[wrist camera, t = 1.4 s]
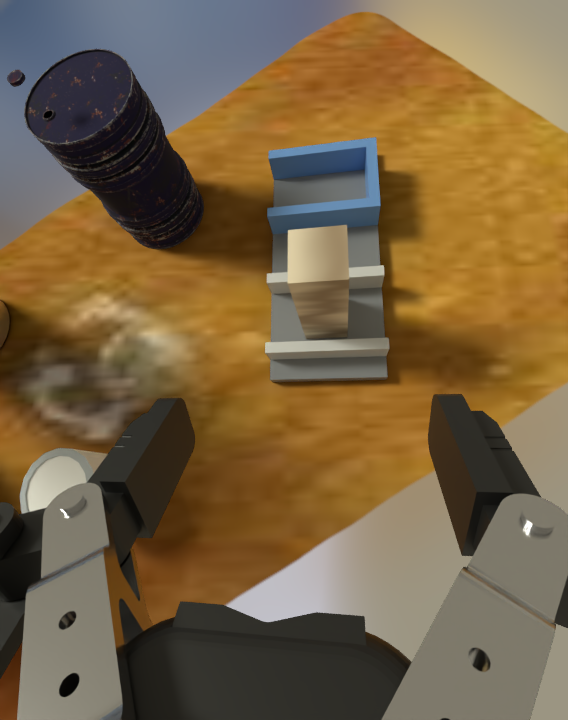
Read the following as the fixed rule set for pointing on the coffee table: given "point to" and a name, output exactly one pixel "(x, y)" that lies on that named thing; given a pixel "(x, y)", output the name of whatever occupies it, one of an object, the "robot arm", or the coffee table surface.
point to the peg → (320, 279)
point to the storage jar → (114, 145)
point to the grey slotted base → (361, 214)
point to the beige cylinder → (56, 476)
